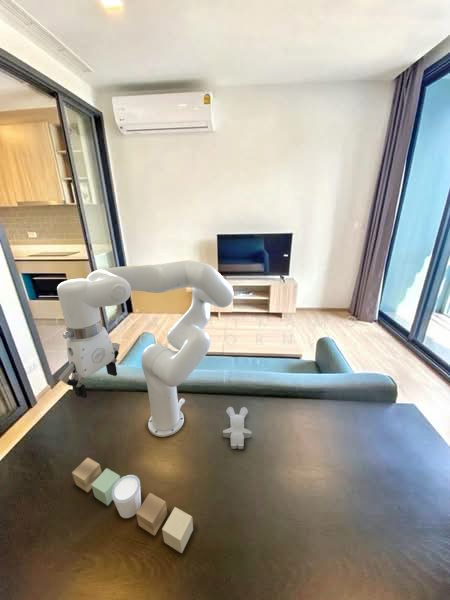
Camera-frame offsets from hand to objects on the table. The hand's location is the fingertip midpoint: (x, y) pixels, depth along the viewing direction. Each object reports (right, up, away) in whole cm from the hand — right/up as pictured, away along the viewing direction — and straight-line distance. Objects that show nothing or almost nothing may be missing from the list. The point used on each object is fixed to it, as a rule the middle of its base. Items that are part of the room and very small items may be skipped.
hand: (98, 384), depth 68 cm
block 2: (+3, -30, +1) cm, 30 cm away
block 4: (+24, -33, -9) cm, 42 cm away
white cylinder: (+10, -31, -2) cm, 33 cm away
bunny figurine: (+39, -23, +19) cm, 49 cm away
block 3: (+17, -32, -5) cm, 37 cm away
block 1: (-4, -29, +4) cm, 29 cm away
